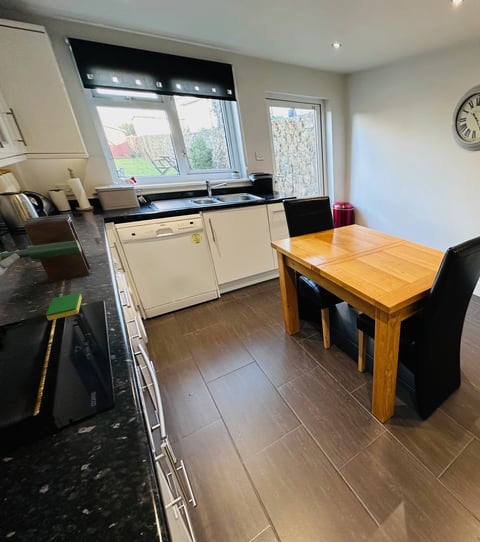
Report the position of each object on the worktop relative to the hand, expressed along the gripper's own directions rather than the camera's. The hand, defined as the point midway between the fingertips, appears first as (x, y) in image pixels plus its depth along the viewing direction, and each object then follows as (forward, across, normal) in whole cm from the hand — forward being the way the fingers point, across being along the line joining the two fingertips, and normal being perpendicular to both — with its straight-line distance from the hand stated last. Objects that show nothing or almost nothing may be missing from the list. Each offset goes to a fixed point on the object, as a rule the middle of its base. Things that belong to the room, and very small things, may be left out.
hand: (19, 253), depth 100 cm
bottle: (+5, 0, +3) cm, 6 cm away
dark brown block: (-1, +14, +18) cm, 23 cm away
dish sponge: (0, -22, +19) cm, 29 cm away
